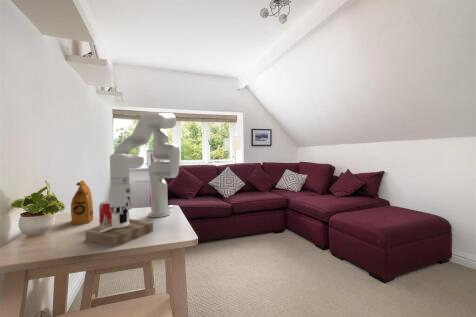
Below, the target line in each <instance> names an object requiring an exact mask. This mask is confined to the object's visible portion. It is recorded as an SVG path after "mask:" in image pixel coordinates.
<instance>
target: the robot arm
mask: <svg viewBox="0 0 476 317" xmlns="http://www.w3.org/2000/svg"><path fill="white" fill-rule="evenodd" d="M176 124H177V117H176V116H175V114H174V113H172V112H171V113H170V112H169V113H168V112H167V113H166V112H165V113H161V112H160V113H144V114H142V115H141V116H140V117H139V119H138V121H137V123H136V125H135V127H134V129H133V132H132V134H130V135H129V136H127V137H126V138H125V139H123V140H122V141H121V142H120V143H119V144H118V145H117V146H116V148H114V149H115V150H114V152H112V154H110V156H109V173H110V174H109V175H110V178H109V180H110V181H109V182H110V186H109V193H108V196H109V197H108V199H109V200H108V201H109V203H110V207H111V208H112V209H113V210H114V214H115V213H118V212H121V214H120V223H124V222H127V213H128V211H130V210H131V209H132V206H133V205H134V202H133V201H134V199H133V190H132V185H131V184H130V170H136V169H137V170H138V169H139V168H142V166H143V165H144V162H145V159H144V157H143V155H142V154H140V153H138V152H131V151H133V150H135V149H136V148H139V147H141V146H144V145H146V144H148V143H149V141H150V139H151V136H152V134H153V142H152V144H153V145H152V157H153V158H154V159H156V160H158V161H154V162H151V163H150V164H149V165H148V171H147V172H148V176H149V180H150V181H149V183H150V212H148V213H147V216H148V217H150V218H164V217H167V216H169V215H171V211H170V210H171V209H173V207H174V206H173V205H168V198H169V197H168V183H167V181H166V180H165V179H175V178H177V177H178V175H179V171H180V160H181V151H180V147H179V145H177V144H176V143H169V135H168V133H167V131H166V129H172V128H174V127H176ZM159 160H166V161H159ZM167 160H169V161H167Z"/></svg>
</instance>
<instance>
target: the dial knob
mask: <svg viewBox="0 0 476 317" xmlns="http://www.w3.org/2000/svg"><path fill="white" fill-rule="evenodd" d="M120 214H121V212H118V213H115V214H112V227H110V228H107V229H103V230H100V232H104V231H107V230H110V229H113V228H116V229H117V228H125V227H128V226H129V225H130V222H129V219H130V210H128V213H127V222H124V223H120Z"/></svg>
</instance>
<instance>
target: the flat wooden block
mask: <svg viewBox="0 0 476 317" xmlns="http://www.w3.org/2000/svg"><path fill="white" fill-rule="evenodd" d="M129 222H130V225H129V226H128V227H125V228H117V229H116V228H113V229H110V230H107V231H104V232H100V230H103V229H107V228H110V227H112V223H109V224H106V225H103V226H100V225H99V226H97V227H93V228H90V229H87V230H85V241H87V242H91V243H96V244H100V245H105V246H109V247H112V248H116V247H119V246H121V245H123V244H126V243H128V242H130V241H133V240H135V239H138V238H139V237H142V236H144V235H146V234H147V235H148V234H150V233H152V232H153V231H154V222H151V221H145V220H138V219H134V218H133V219H132V218H129Z"/></svg>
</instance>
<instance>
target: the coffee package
mask: <svg viewBox="0 0 476 317" xmlns="http://www.w3.org/2000/svg"><path fill="white" fill-rule="evenodd" d="M76 186H77V187H78V188H77V190H76V192H75V194H74V195H73V197H72V198H71V202H70V217H71V221H70V223H71V224H72V225H75V226H76V225H84V224H85V225H86V224H90V222H91V221H93V219H94V208H93V207H94V205H93V204H94V202H93V197H92V193H91V192H92V191H91V188H90V187H89V186H88V184H87V183H86V182H85V180H83V179H82V180H81V181H80V182H76Z"/></svg>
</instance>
